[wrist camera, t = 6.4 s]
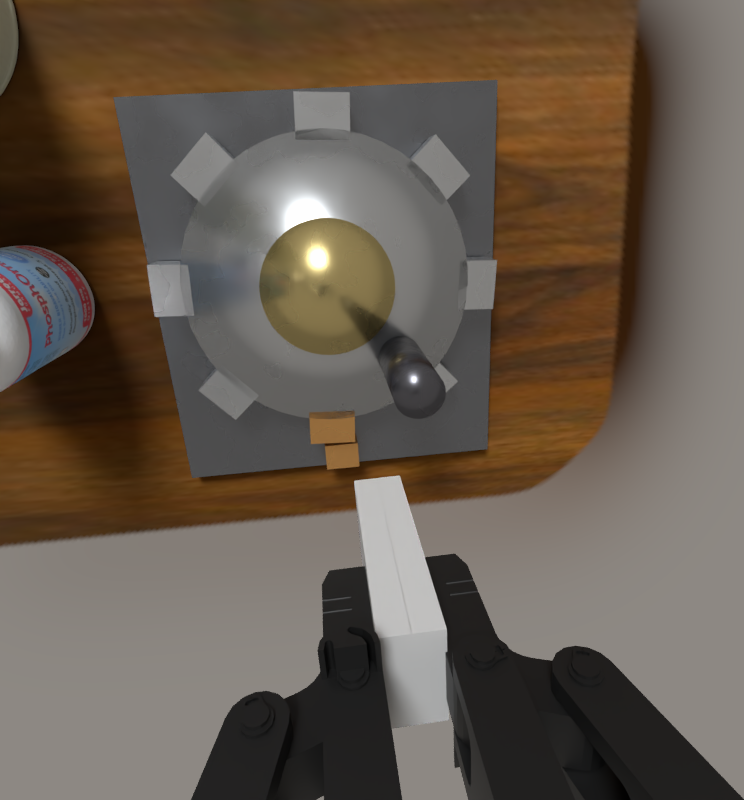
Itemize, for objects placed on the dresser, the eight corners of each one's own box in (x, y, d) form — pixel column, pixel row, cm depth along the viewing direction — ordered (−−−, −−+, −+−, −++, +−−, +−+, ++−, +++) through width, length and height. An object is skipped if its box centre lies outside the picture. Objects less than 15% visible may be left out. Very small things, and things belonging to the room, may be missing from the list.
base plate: (195, 470, 34) (188, 487, 32) (120, 101, 26) (104, 92, 24) (482, 442, 35) (493, 457, 33) (491, 83, 28) (505, 74, 26)
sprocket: (333, 482, 34) (338, 560, 27) (88, 287, 28) (9, 318, 21) (547, 278, 30) (620, 304, 23) (318, 8, 25) (318, -72, 17)
